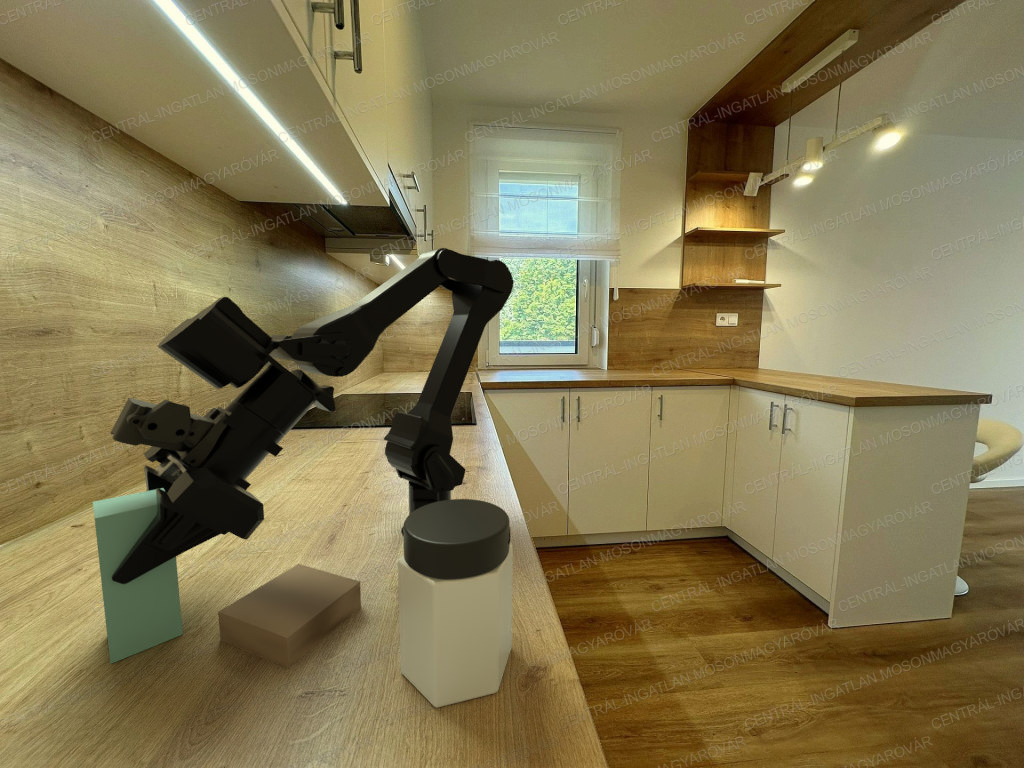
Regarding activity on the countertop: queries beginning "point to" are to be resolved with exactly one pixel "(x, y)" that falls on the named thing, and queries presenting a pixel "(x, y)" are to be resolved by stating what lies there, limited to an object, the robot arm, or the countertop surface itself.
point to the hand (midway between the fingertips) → (115, 569)
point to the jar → (455, 599)
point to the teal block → (145, 600)
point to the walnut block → (289, 614)
